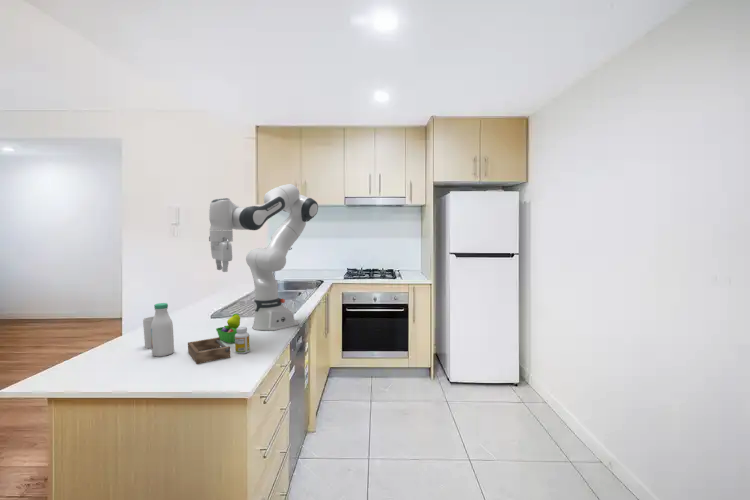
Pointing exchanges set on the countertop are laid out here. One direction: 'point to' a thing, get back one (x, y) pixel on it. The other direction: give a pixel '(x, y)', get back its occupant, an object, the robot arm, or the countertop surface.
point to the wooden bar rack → (208, 354)
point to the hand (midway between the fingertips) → (222, 270)
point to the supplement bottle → (242, 340)
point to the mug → (147, 331)
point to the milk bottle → (162, 331)
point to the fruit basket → (229, 329)
